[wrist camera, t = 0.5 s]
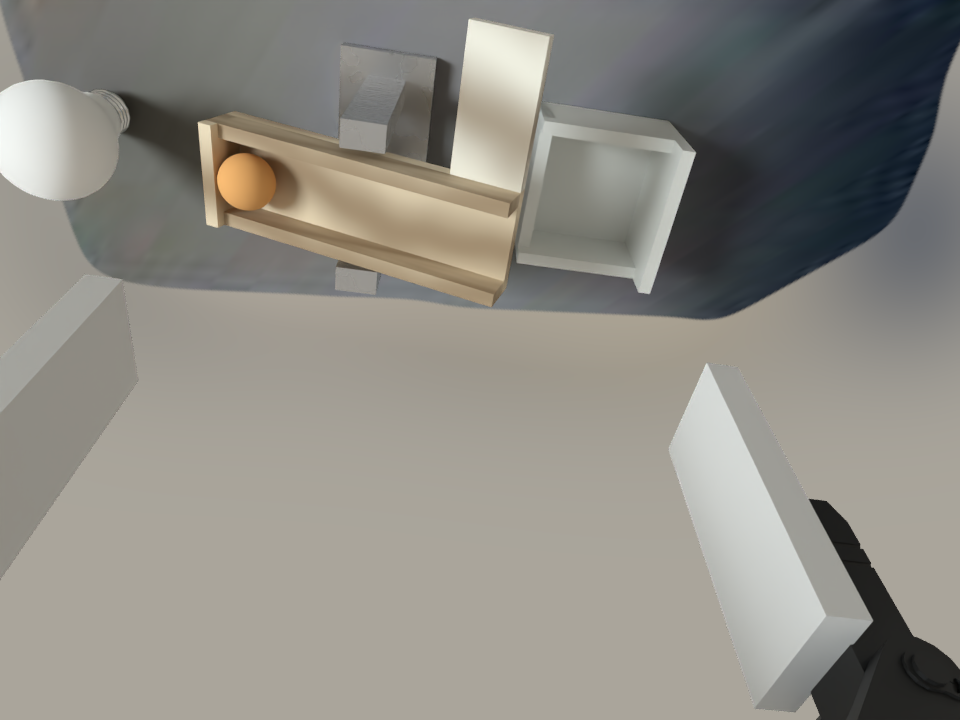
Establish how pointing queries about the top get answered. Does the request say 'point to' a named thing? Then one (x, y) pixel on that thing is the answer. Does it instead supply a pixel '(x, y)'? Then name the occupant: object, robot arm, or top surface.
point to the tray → (601, 192)
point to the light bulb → (59, 138)
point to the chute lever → (404, 178)
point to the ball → (246, 181)
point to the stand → (382, 119)
